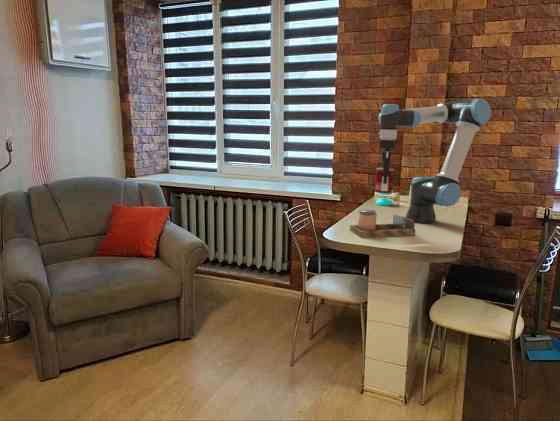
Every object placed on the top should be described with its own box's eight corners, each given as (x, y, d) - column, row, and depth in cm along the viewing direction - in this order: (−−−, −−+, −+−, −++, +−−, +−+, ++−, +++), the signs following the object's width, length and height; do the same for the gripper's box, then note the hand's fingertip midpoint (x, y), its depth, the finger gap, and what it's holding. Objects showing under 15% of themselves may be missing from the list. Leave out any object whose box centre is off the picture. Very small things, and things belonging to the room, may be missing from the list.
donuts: (386, 190, 266) (373, 188, 274) (385, 206, 268) (373, 204, 276) (396, 189, 273) (383, 187, 280) (395, 204, 274) (383, 202, 282)
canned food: (393, 193, 196) (395, 169, 194) (375, 192, 197) (377, 168, 195) (391, 191, 203) (393, 168, 201) (374, 190, 204) (375, 167, 202)
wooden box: (401, 230, 205) (402, 216, 204) (414, 237, 194) (415, 221, 192) (349, 232, 200) (350, 217, 199) (360, 239, 188) (360, 223, 187)
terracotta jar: (371, 230, 200) (372, 209, 198) (378, 234, 192) (379, 212, 190) (354, 231, 198) (355, 209, 196) (361, 235, 190) (362, 212, 188)
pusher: (400, 228, 204) (401, 214, 202) (410, 233, 194) (411, 218, 193) (392, 228, 203) (393, 214, 201) (402, 233, 193) (403, 218, 192)
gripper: (378, 138, 206) (375, 186, 210) (379, 139, 186) (376, 192, 190) (394, 139, 205) (390, 187, 209) (397, 140, 185) (393, 193, 189)
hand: (383, 189), depth 200 cm, fingers closed on canned food, 8 cm apart
